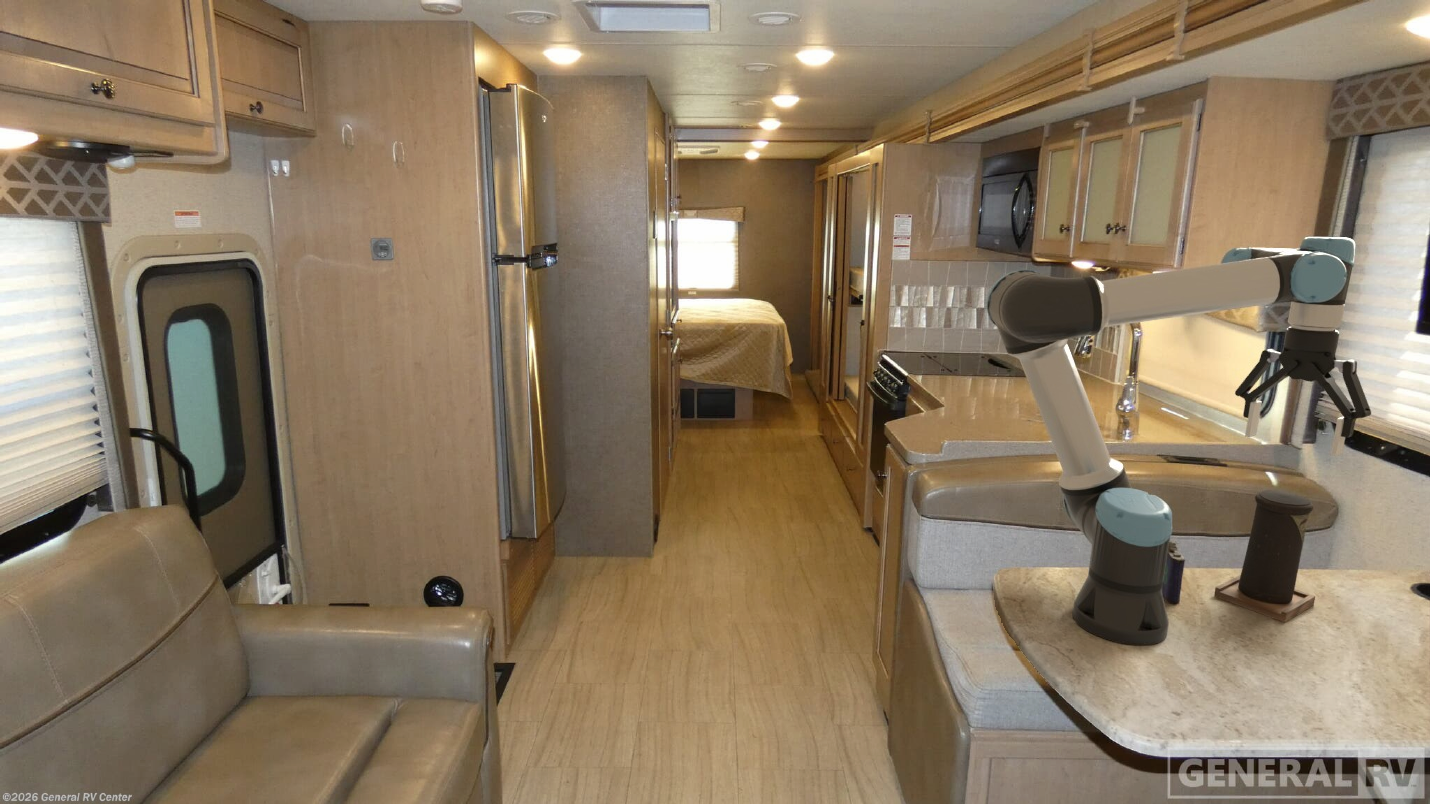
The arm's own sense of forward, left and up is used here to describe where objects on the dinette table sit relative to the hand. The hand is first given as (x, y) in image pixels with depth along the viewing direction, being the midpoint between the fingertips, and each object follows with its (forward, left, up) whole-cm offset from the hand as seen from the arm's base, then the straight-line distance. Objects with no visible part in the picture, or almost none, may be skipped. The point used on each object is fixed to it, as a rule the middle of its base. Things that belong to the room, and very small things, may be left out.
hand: (1291, 444), depth 145 cm
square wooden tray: (0, 0, -31) cm, 31 cm away
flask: (-16, -7, -31) cm, 35 cm away
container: (0, 0, -30) cm, 30 cm away
